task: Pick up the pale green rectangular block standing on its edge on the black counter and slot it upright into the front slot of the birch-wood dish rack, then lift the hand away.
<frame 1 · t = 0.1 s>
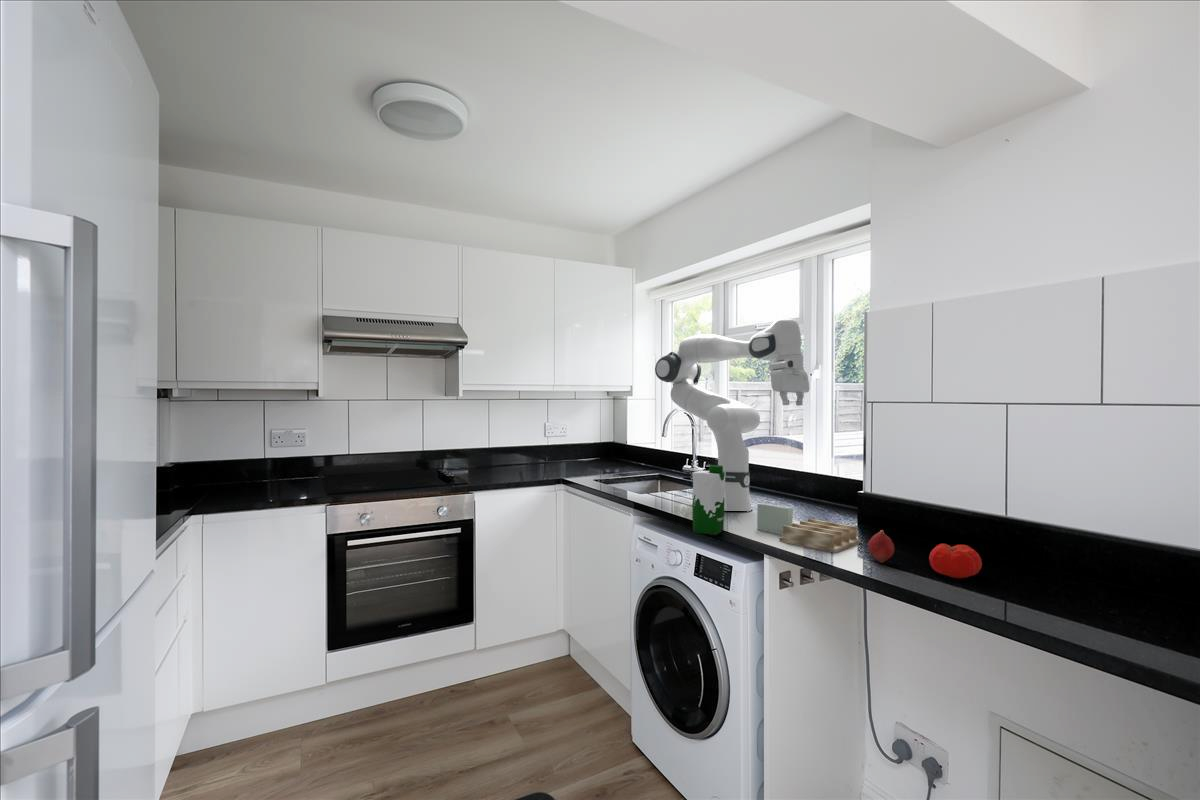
hand: (792, 405, 185), 39 cm above the worktop, tool pointing down, fingers open, 8 cm apart
tomato: (955, 575, 125), on the worktop
milk carton: (708, 532, 164), on the worktop
dish rack: (819, 542, 153), on the worktop
onion: (880, 563, 133), on the worktop
pale green rectangular block: (774, 531, 165), on the worktop
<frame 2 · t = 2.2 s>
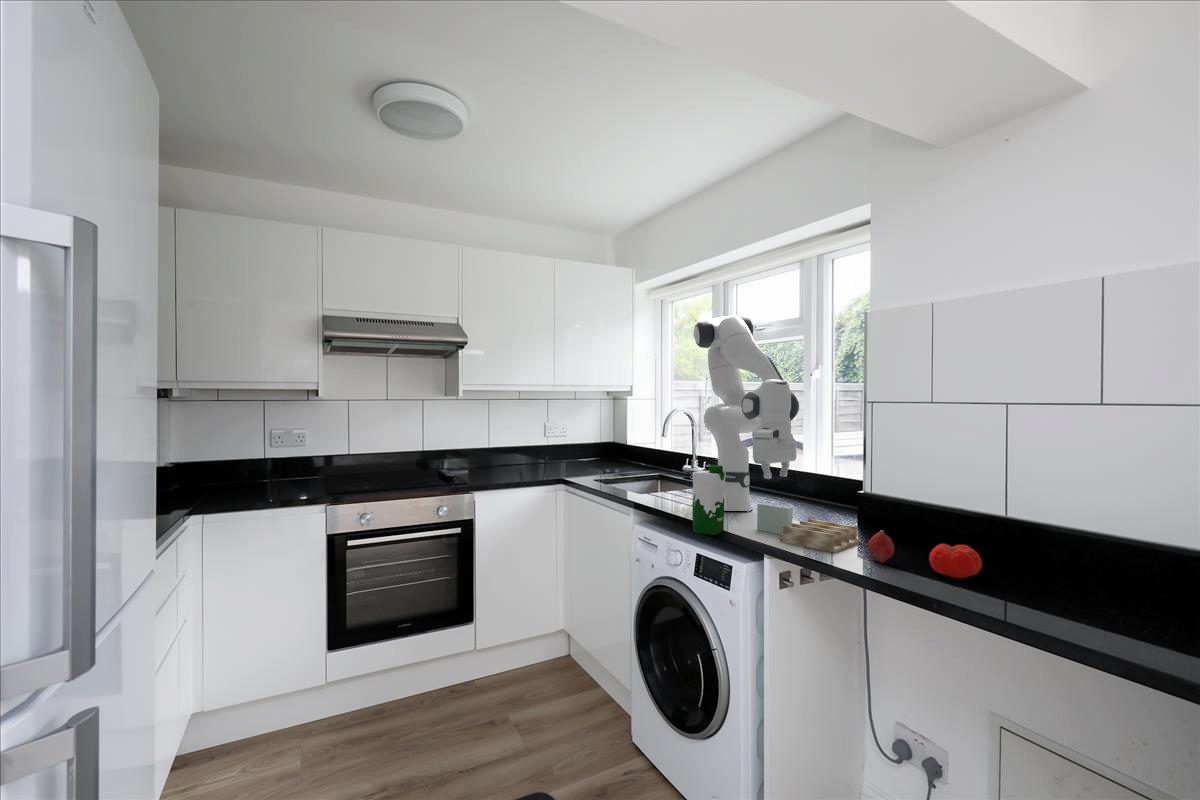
hand: (775, 477, 165), 17 cm above the worktop, tool pointing down, fingers open, 8 cm apart
nothing on the worktop moved.
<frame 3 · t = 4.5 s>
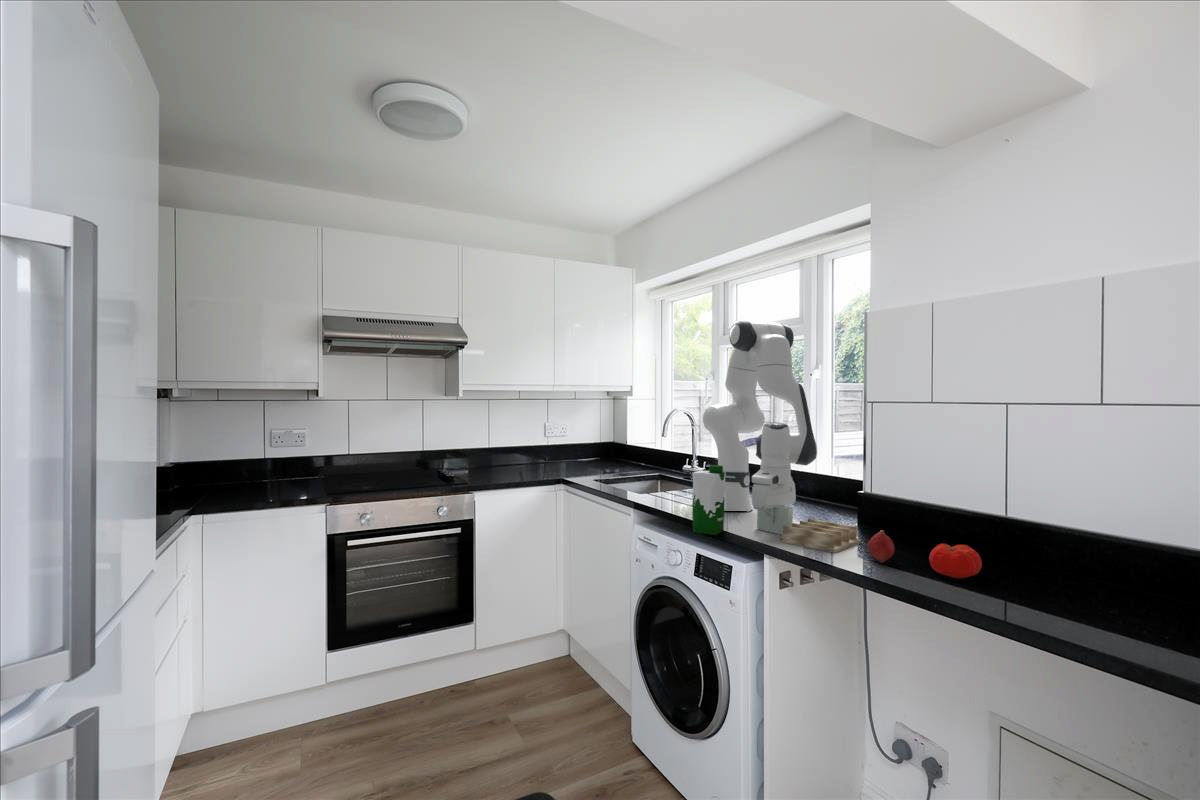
hand: (774, 521, 165), 3 cm above the worktop, tool pointing down, fingers closed on pale green rectangular block, 3 cm apart
pale green rectangular block: (774, 531, 165), on the worktop, touching gripper
everything else where it was.
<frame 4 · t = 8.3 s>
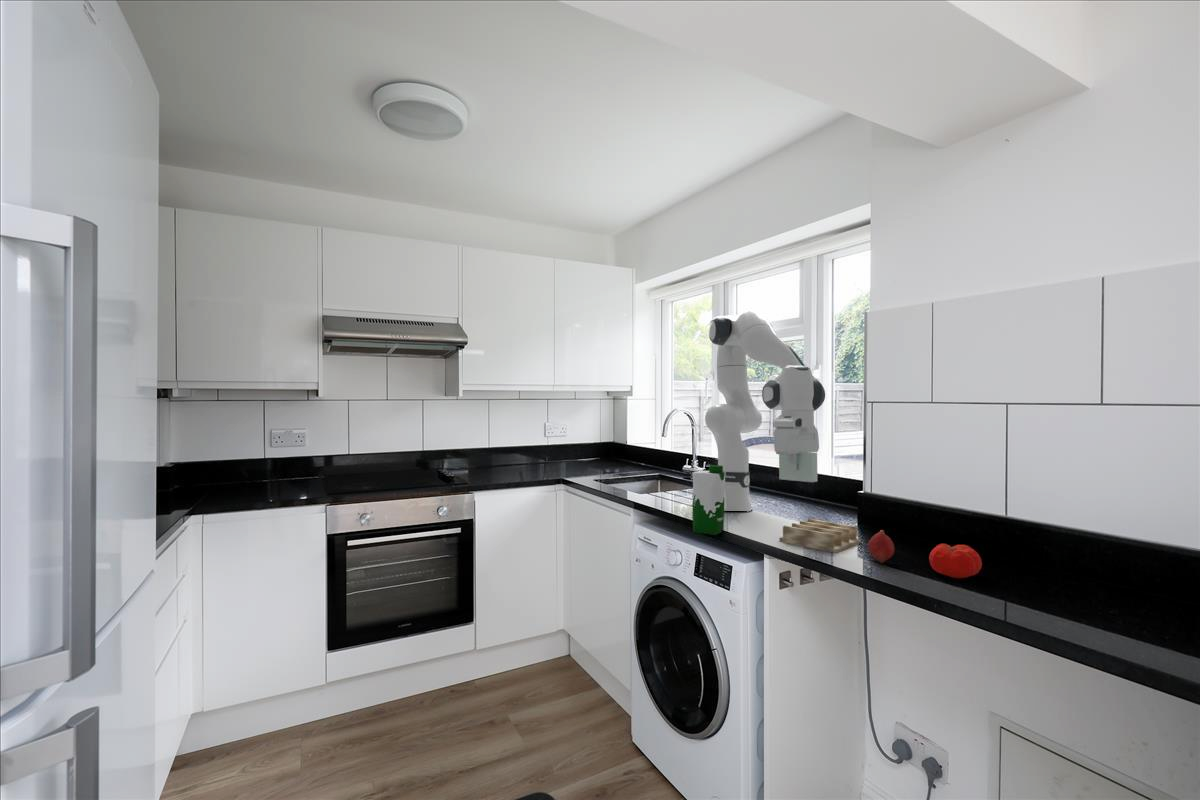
hand: (797, 469, 155), 20 cm above the worktop, tool pointing down, fingers closed on pale green rectangular block, 3 cm apart
pale green rectangular block: (798, 480, 155), point 17 cm above the worktop, touching gripper
everything else where it was.
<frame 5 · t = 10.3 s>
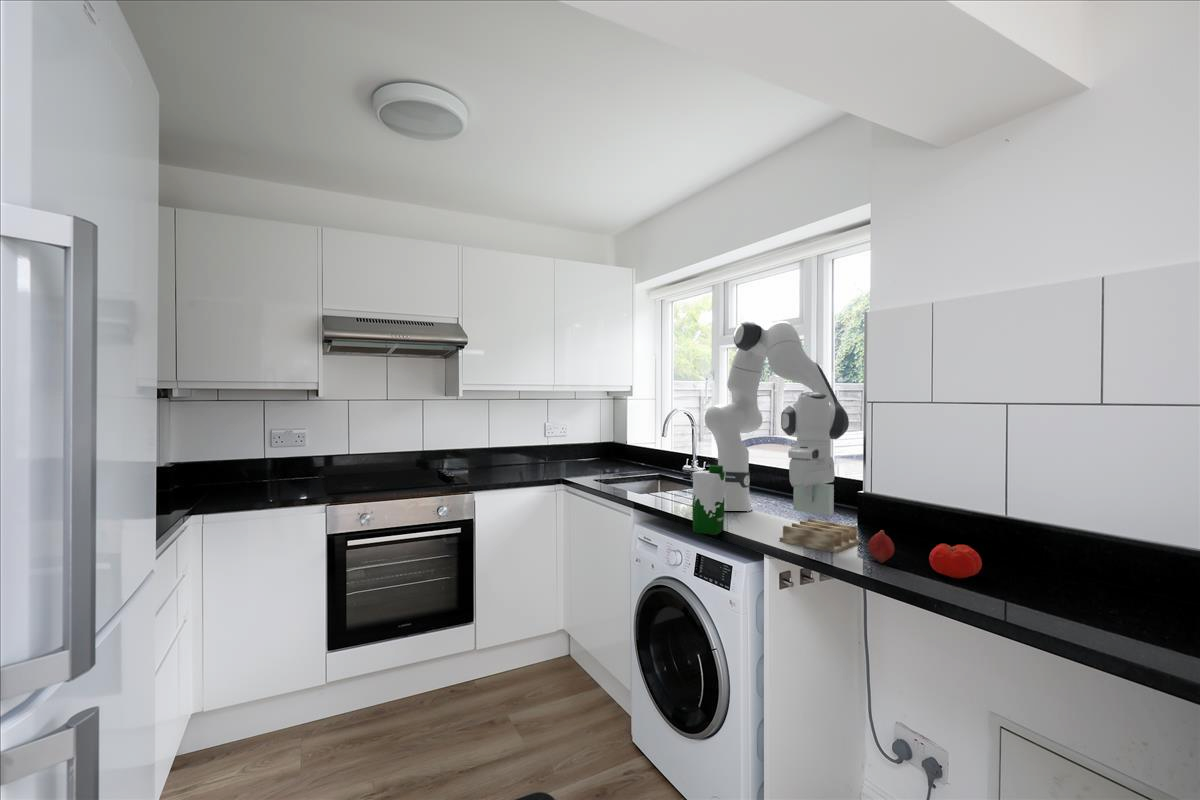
hand: (813, 501, 149), 12 cm above the worktop, tool pointing down, fingers closed on pale green rectangular block, 3 cm apart
pale green rectangular block: (813, 512, 149), point 9 cm above the worktop, touching gripper
everything else where it was.
when the fingers open (6 cm above the worktop, at t = 12.1 s): pale green rectangular block drops 1 cm, resting on dish rack.
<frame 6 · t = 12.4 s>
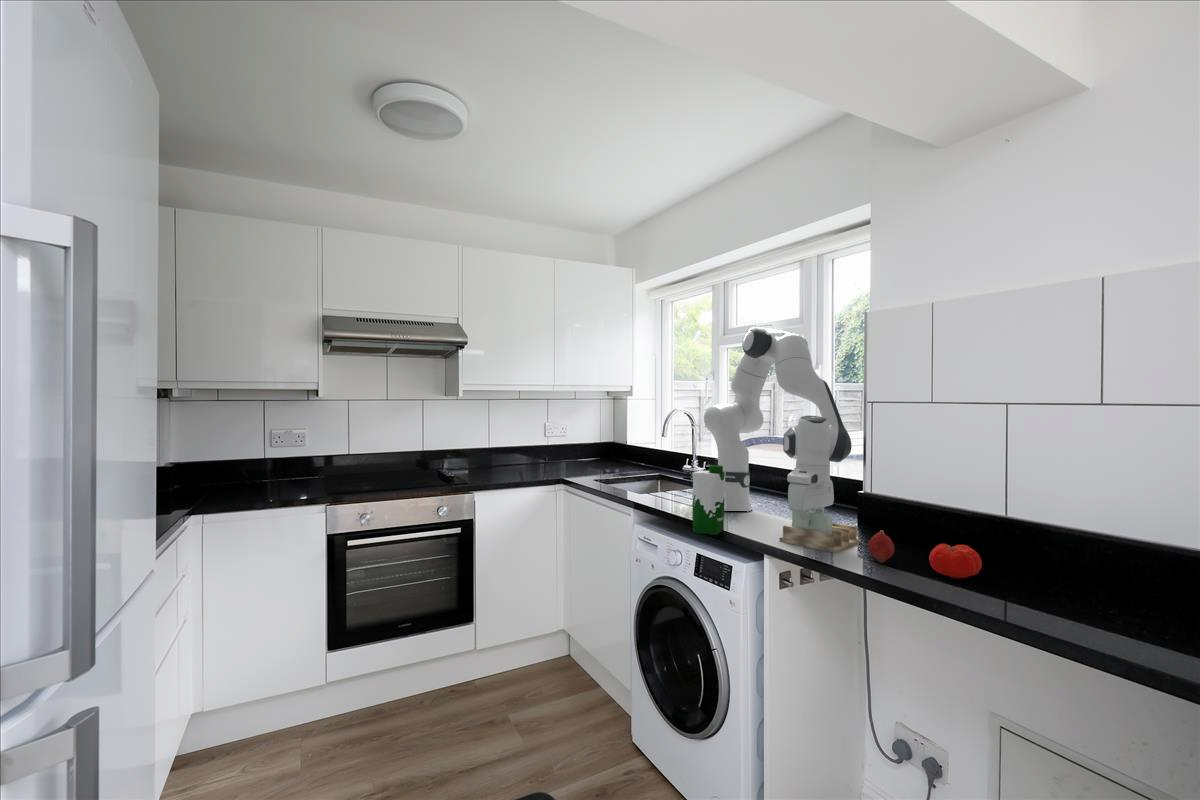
hand: (811, 524, 149), 6 cm above the worktop, tool pointing down, fingers open, 5 cm apart
pale green rectangular block: (811, 541, 149), point 1 cm above the worktop, touching dish rack
everything else where it was.
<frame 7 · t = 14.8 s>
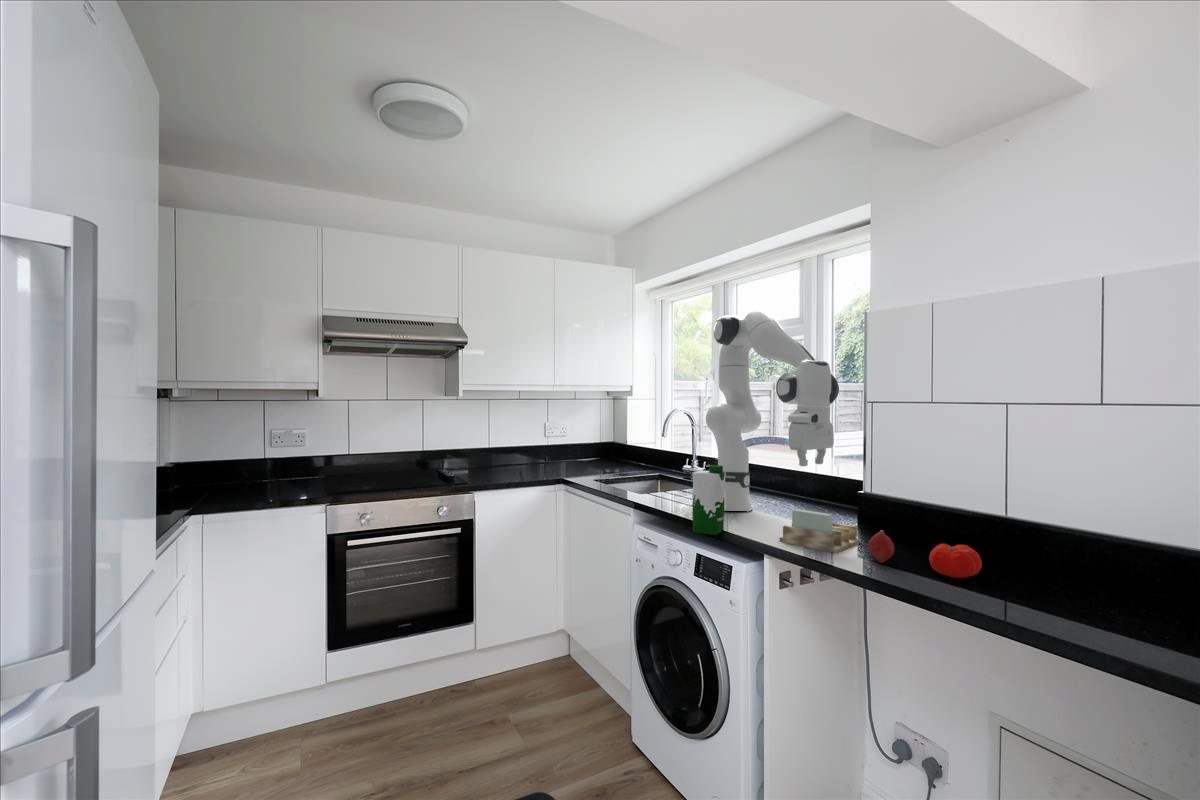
hand: (811, 465, 154), 22 cm above the worktop, tool pointing down, fingers open, 8 cm apart
nothing on the worktop moved.
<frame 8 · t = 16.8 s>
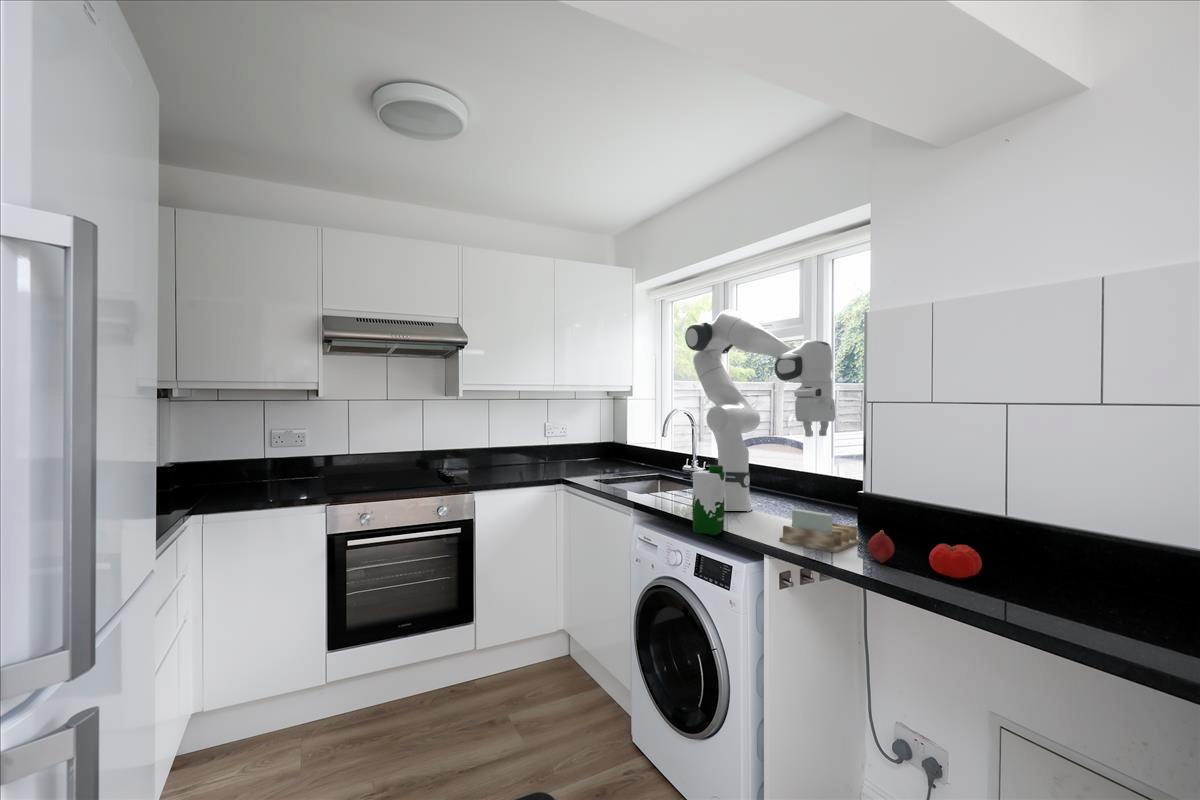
hand: (816, 436, 169), 29 cm above the worktop, tool pointing down, fingers open, 8 cm apart
nothing on the worktop moved.
at the end: pale green rectangular block 0.0 cm from the target spot on the dish rack, point 1.0 cm above the dish rack's base; pale green rectangular block tilted 0°; the gripper is holding nothing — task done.
